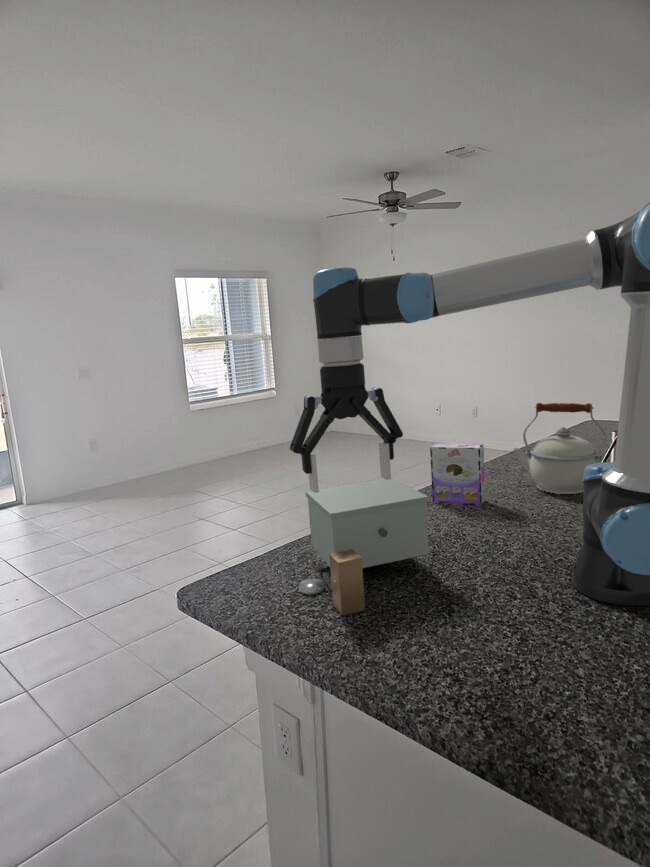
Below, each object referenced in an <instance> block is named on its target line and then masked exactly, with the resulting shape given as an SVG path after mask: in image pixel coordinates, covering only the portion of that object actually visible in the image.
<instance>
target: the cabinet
mask: <svg viewBox="0 0 650 867" xmlns="http://www.w3.org/2000/svg"><path fill="white" fill-rule="evenodd" d="M305 497H306V498H307V505H308V518H309V527H310V541H311V547H312V548H313V549H314V550H315V552H316V553H318V555H319V556H320V557H321V558H322V559H323V561H324V562H325V563H326V564H327V565H328V567H330V555H329V554H330V553H335V552H340V551H345V550H350V549H353V550H354V551H355V552H356V553H357V554H358V555H359V556H360V557H362V569H366V568H371V567H374V566H379V565H384V564H389V563H393V562H397V561H402V560H406V559H407V560H408V559H412V558H417V557H421V556H422V557H423V556H425V555H427V556H428V555H429V553H430V552H429V534H428V531H429V529H428V509H427V508H428V504H427V502H429V496H428V495H426V494H425V493H422V492H421V491H419V490H417V489H415V488H413V487H412V486H410V485H408V484H405V483H404V482H402V481H400V480H398V479H396V478H394V477H391V479H390V480H386V479H384V478H382V479H377V480H370V481H365V482H358V483H351V484H346V485H341V486H340V485H339V486H332V487H327V488H326V487H325V488H321V489H320V488H319V492H317V493H314V492H313V491H312V490H309V491H305Z"/></svg>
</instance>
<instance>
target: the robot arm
mask: <svg viewBox="0 0 650 867" xmlns="http://www.w3.org/2000/svg"><path fill="white" fill-rule="evenodd" d="M312 280H313V281H312V283H313V284H312V285H313V299H312V302H313V307H314V316H315V326H316V338H317V349H318V362H319V363H320V364H322V365H323V366H320V368H319V374H320V387H321V394H320V396H311V395H308V394H307V395H305V396H304V398H303V410H302V413H301V416H300V418H299V421H298V423H297V427H296V429H295V431H294V435H293V437H292V440H291V442H290V445H289V449H290V451H291V452H293V453H295V454H300V456H301V464H302V465H301V466H302V471H303V472H304V473H305V474H307V475H308V480H309V491H313V492H314V493H317V492H319V490H320V488H319V479H318V478H319V477H318V476H319V475H318V467H317V466H318V465H317V456H316V454H314V453H312V452H314V449H315V448H316V447H317V445H318V443H319V442H320V441H321V439H322V437H323V435H324V434H325V433H326V431H327V430H328V428H329V426H330V425H331V424H332V423H333V422H334V421H335V419H338V420H344V419H346V418H352V419H353V418H357V416H359V417H360V418H361V419H362V420H363V421H364V422H365V423H366V424H367V425H368V426H369V427H370V428H371V429H372V430H373V431H374V432H375V433H376V434H377V435H378V436H379V437H380V438H381V439H382V440H383V441H382V440H381V441H378V451H379V452H378V453H379V465H380V477H381V478H382V479H386V480H390V479H391V478H392V473H391V460H392V461H393V460H394V458H395V454H394V449H395V448H394V444H395V443H396V442H397V439H400V438H402V437H403V435H404V433H403V431H402V428H401V427H400V425H399V424H398V422H397V420H396V418H395V417H394V415H393V413H392V411H391V408H390V407H389V406H388V404H387V402H386V400H385V395H384V390H383V388H381V387H376V386H375V387H372V388H371V389H368V390H367V389H366V378H365V377H366V376H365V366H364V364H363V363H361V361H363V360H364V349H363V348H364V347H363V336H362V326H371V325H372V326H373V325H374V326H375V325H387V324H388V325H389V324H401V323H402V324H412V323H418V322H420V321H421V322H422V321H428V320H430V319H434V318H437V317H441V316H446V315H450V314H451V315H452V314H457V313H461V312H466V311H470V310H475V309H481V308H485V307H490V306H495V305H496V306H497V305H498V304H499V305H500V304H505V303H510V302H514V301H519V300H524V299H525V300H526V299H530V298H535V297H539V296H543V295H549V294H554V293H559V292H563V291H569V290H572V289H578V288H582V287H583V288H584V287H587V286H588V287H591V288H592V289H593V288H594V289H595V290H596V291H598V290H604V289H609V288H610V289H611V288H616V287H620V297H621V298H622V299H623V301H625V302H626V304H627V305H629V307H630V313H629V321H628V322H629V323H628V331H627V333H628V334H627V342H626V351H625V362H624V363H625V364H624V371H623V380H622V390H621V397H620V398H621V399H620V407H619V415H618V416H619V417H618V428H617V436H616V444H615V445H616V446H615V456H614V461H612V462H611V461H610V462H607V461H606V462H597V463H594V464H590V465H588V466H587V467H586V468H585V470H584V478H583V480H582V482H583V483H584V493H582V494H583V498H582V499H583V504H582V505H583V507H582V508H583V509H582V510H583V512H582V544H581V546H580V548H579V552H578V555H577V558H576V561H575V563H574V564H573V567H572V571H571V572H572V573H571V582H572V586H573V587H574V589H576V590H577V591H578V592H580V593H581V594H582V595H584V596H587V597H588V598H591V599H593V600H597V601H600V602H604V603H606V604H607V603H608V604H612V605H617V606H618V605H619V606H625V607H626V606H627V607H629V606H630V607H639V606H648V605H650V201H649V202H647V204H645V205H644V206H643V207H642V209H641V210H640V209H639V211H637V212H636V213H635V214H633V215H631V216H629V217H627V218H625V219H624V220H621V221H619V222H617V223H615V224H612V225H611V224H610V225H609V226H604V227H603V228H598V229H593V230H590V231H589V233H588V234H587V235H586V236H585V237H584V238H583V239H578V240H575V241H569V242H565V243H562V244H558V245H553V246H549V247H544V248H540V249H537V250H532V251H527V252H524V253H519V254H515V255H509V256H506V257H502V258H497V259H492V260H489V261H488V260H487V261H485V262H480V263H475V264H471V265H467V266H464V267H463V266H462V267H458V268H455V269H450V270H445V271H441V272H437V273H433V274H430V273H428V272H405V273H404V274H395V275H387V276H381V277H372V278H360V277H359V275H358V271H357V269H355V268H354V267H334V268H327V269H321V270H319V271H317V272H316V273H315V274H314V276H313V278H312ZM368 399H369V400H370V401H371V402H373V405H374V406H375V407H376V409H377V412H378V413H379V415H380V417H381V418H382V420H383V423H384V424H385V426H386V427H385V426H383V424H382V423H381V422H380V421H379V420H378V419H377V418H376V417H375V416H374V415H373V414H372V412H371V411H370V410H369V409H368V408H367V407H366V406H365V404H366V402H367V401H368ZM320 404H321V406H322V407H323V408H324V410H323V411H322V413H321V414H320V418H319V419H318V421H317V422H316V424H315V426H314V427H313V429H312V430H311V432H310V433H309V435H308V436H307V434H308V432H309V429H310V426H311V424H312V421H313V418H314V415H315V411H316V410H317V409H318V408H319V405H320ZM386 428H387V429H388V430H387V429H386ZM306 436H307V438H306Z"/></svg>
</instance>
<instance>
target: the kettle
mask: <svg viewBox="0 0 650 867" xmlns="http://www.w3.org/2000/svg"><path fill="white" fill-rule="evenodd" d="M593 409H594V406H593V403H590V402H589V403H585V404H582V403H575V402H574V403H573V402H571V403H570V402H569V403H568V402H566V403H565V402H563V403H562V402H561V403H558V402H557V403H556V402H554V403H553V402H550V403H541V402H537V403H536V404H535V417H534V418H533V419H532V421H531V422H530V423H528V425H527V426H526V428H525V429H524V431H523V434H522V435H523V436H522V437H523V442H524V445H525V447H526V450H527V452H525V454H524V453H523V451H522V450H521V448H520V447H516V448H512V450H513V452H514V454H515V456H516V457H517V459H518V460H519V462H520V464H521V465H522V466H523V468H525V469H526V471H528V472H529V475H530V476H531V478H532V480H533V481H534V482H535V483H537V484H536V487H537V488H538V489H539V490H540V491H542V490H543V491H542V492H544V491H546V492H545V493H547V492H550V493H549V494H552V493H556V494H555V495H560V494H574V495H576V494H575V493H580V492H584V483H583V482H582V480H583V478H584V470H585V468H586V467H587V466H588V465H590V464H594V463H601V460H604V456H601V453H602V452H603V451H604V448H605V445H606V444H607V443H606V442H607V435H606V432H605V430H604V429H603V428H602V426H601V425H600V424H599V423H598V422H597V421H596V420H595V418H594V416H593ZM541 412H549V413H581V412H585V413H586V414H590V419H591V421H592V422H593V423H594V424H595V425H596V426H597V427H598V428H599V430H600V431H601V432H602V435H603V438H604V442H603V445H602V448H601V450H600V451H599V453H598V451H597V450H596V449H595V448H594V446H593V445H592V443H591V442H590V441H589V440H586V439H585V438H581V437H579V436H575V435H571V434H572V432H571V430H569V429H568V428H567V427H566V426H565V427H564V426H563V427H561V428H559V429H557V430H556V431H555V434H556V435H552V436H547V437H544V438H542V439H540V440H539V441H537V442H536V444H535V445H534V447H533V448H532V449H531V448H530V446H529V444H528V441H527V437H526V432H527V431H528V429H529V427H530V426H531V425H532V423H534V421H535V420H536V419H537V417H539V416H538V415H539V413H541ZM597 455H598V456H597Z"/></svg>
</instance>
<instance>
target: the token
mask: <svg viewBox="0 0 650 867" xmlns="http://www.w3.org/2000/svg"><path fill="white" fill-rule="evenodd" d="M323 590H325V581H324V580H323V579H319V578H307V579H303V580H302V581H301V582H299V583H298V591H299V592H300V593H302V594H304V595H317V594H320V593H321V592H323Z"/></svg>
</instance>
